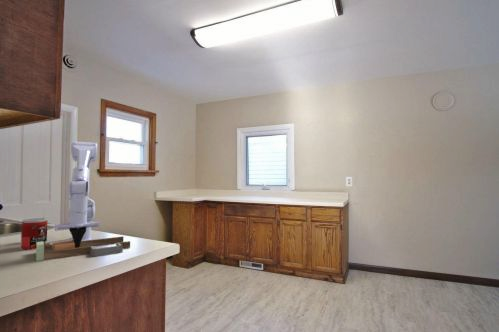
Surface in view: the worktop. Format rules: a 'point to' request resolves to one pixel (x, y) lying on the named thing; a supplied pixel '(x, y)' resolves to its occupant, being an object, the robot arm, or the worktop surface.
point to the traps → (102, 249)
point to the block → (63, 245)
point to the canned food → (32, 232)
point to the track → (82, 247)
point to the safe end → (40, 251)
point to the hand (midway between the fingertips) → (77, 247)
